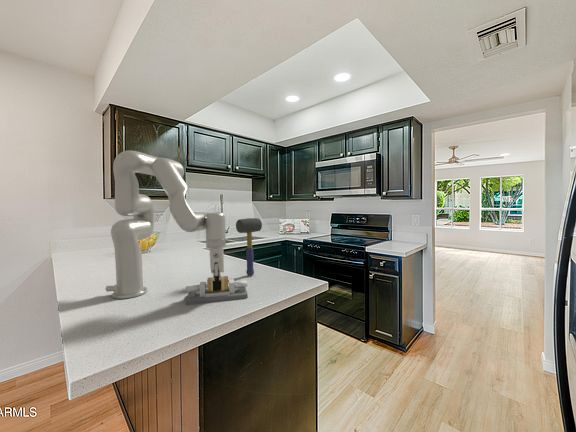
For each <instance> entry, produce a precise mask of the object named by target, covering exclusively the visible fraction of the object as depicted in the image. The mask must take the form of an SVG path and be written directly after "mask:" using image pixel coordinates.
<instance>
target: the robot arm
mask: <svg viewBox="0 0 576 432" xmlns="http://www.w3.org/2000/svg"><path fill="white" fill-rule="evenodd" d="M184 169H185V168H184V166H183V165H182V164H181V163H180V162H179V161H177V160H173V159H170V158H167V157H159V156H155V155H151V154H148V153H144V152H141V151H137V150H131V149H129V150H125V151H122V152H120V153H118V154H117V156H115V159H114V160H113V165H112V171H113V176H114V177H113V178H114V207H115V212H116V213H117V214H118V215H120V216H123V217H132V216H133V217H132V218H129V219H128V218H125V219H120V220H118V221H116V222H114V224H112V226H111V228H110V235H111V236H110V237H111V240H112V242H113V247H114V259H115V260H114V261H115V275H116V276H115V278H116V279H115V280H116V284H114V285H106V286H105V291H106V292H113V293H112V298H113V299H117V300H119V299H121V300H123V299H132V298H135V297H136V298H137V297H139V296H142V295H144V294H146V293H147V292H148V287H147V286H144V278H143V257H142V254H143V253H142V249H141V248H142V247H141V246H140V244H139V242H138V241H140V240H146V239H149V238H150V237H151V236H152V235H153V231H154V226H155V225H154V224H155V223H154V222H155V221H154V219H155V217H154V216H155V215H154V213H155V212H154V203H153V200H152V199H151V198H150V197H149V196H148V195H145V194H142V193H140V185H139V180H138V178H137V176H136V173H139V174H143V175H148V176H149V175H150V176H153V177H155V178H156V179H157V181H158V182H159V184H160V186H161V187H162V189H163V191H164V192H165V193H166V195H167V197H168V206H169V207H168V208H169V211H170V214H171V216H172V218H173V219H174V221H175V222H176V224H177V225H178V227H179V228H180V229H181V230H183V231H184V232H186V233H193V232H194V233H196V232H199V231H203V230H204V231H205V248H206V249H208V250H209V265H210V273H211V274H212V277H213V291H220V290H221V280H220V277H222V275H221V273H223V274H224V272H225V260H224V259H225V258H224V257H225V255H224V253H225V252H224V248H225V247H226V246H227V245H226V244H227V243H226V215H225V213H224V212H215V211H214V212H202V211H197V212H196V211H195V212H193V210H192V209H191V208H190V206H189V204H188V203H187V200H186V194H187V193H188V192H189V186H188V184H187V183H186V181H185V180H184V178H183V177H184V174H185V170H184Z"/></svg>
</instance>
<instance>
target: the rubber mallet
mask: <svg viewBox="0 0 576 432" xmlns="http://www.w3.org/2000/svg"><path fill="white" fill-rule="evenodd" d="M262 227H263V223H262V219H260V218H258V217H257V218H256V217H255V218H254V217H251V218H250V217H249V218H240V219H239V218H238V219H237V220H236V223H235V228H236V231H237V232H238V233H240V234H246V250H245V252H246V254H245V259H246V271H245V272H246V275H247V277H253V276H254V274H255V269H254V258H255V257H254V249H253V238H252V237H253V236H252V235H253V233H255V232H261V230H262Z"/></svg>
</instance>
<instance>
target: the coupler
mask: <svg viewBox="0 0 576 432" xmlns="http://www.w3.org/2000/svg"><path fill="white" fill-rule="evenodd" d="M220 280H221V290H220V291H213V276H212V277H211V276H210V277H207V279H206V288H207V293H216V292H226V291H228V286H229V275H226V276H221V277H220Z"/></svg>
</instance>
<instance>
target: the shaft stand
mask: <svg viewBox="0 0 576 432" xmlns="http://www.w3.org/2000/svg"><path fill="white" fill-rule="evenodd" d="M247 287H248V280H241V281H235V279H234V278H232V279H231V278H230V279H229V278H228V291H226V292H216V293H207V281H201V282H199V284H198V285H195V284H194V285H186V286H185V293H187V296H186V299H185V301H184V302H185V305H196V304H205V303H206V304H207V303H213V302H222V301H223V302H224V301H232V300H240V299H248V298H249V297H248V291H247Z"/></svg>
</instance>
